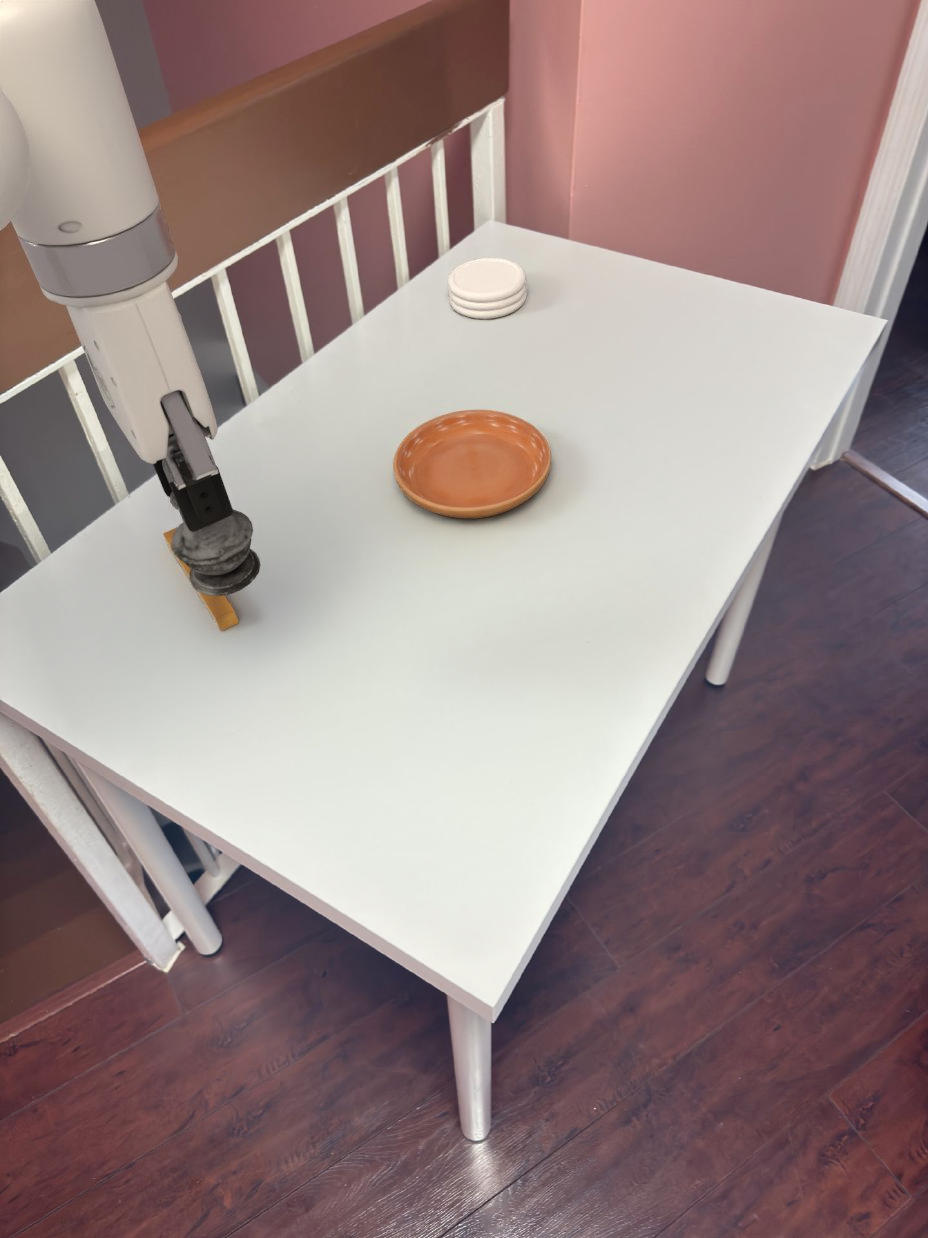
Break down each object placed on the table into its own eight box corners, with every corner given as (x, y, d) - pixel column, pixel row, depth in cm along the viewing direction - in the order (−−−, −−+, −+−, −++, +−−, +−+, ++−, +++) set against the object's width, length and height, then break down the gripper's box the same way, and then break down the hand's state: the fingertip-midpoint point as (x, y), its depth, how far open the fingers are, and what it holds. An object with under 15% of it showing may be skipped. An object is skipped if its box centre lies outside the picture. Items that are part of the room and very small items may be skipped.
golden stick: (221, 631, 82) (215, 618, 81) (168, 546, 91) (162, 533, 89) (239, 623, 83) (234, 609, 82) (185, 538, 91) (179, 525, 90)
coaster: (441, 318, 116) (438, 293, 113) (459, 279, 122) (456, 254, 119) (519, 322, 114) (518, 296, 111) (532, 282, 120) (532, 256, 117)
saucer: (575, 505, 90) (575, 482, 88) (420, 548, 88) (417, 525, 85) (519, 417, 101) (518, 394, 98) (380, 453, 98) (376, 430, 96)
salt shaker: (222, 610, 65) (169, 479, 56) (169, 578, 68) (110, 447, 59) (280, 562, 68) (239, 429, 59) (227, 533, 71) (180, 402, 62)
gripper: (-3, 216, 53) (111, 465, 67) (76, 334, 43) (191, 598, 57) (120, 179, 55) (206, 427, 69) (222, 283, 46) (299, 548, 59)
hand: (198, 502), depth 63 cm, fingers closed on salt shaker, 3 cm apart
